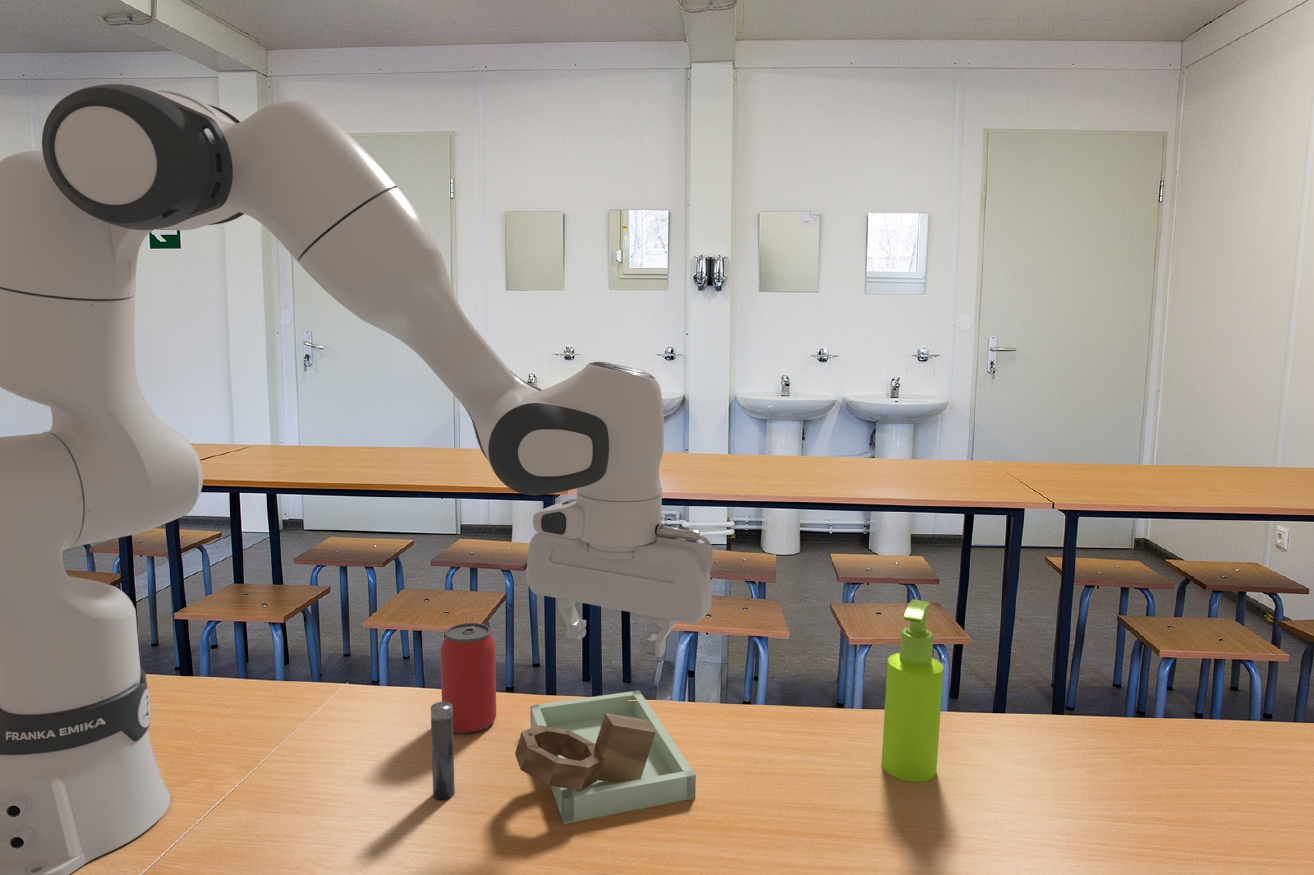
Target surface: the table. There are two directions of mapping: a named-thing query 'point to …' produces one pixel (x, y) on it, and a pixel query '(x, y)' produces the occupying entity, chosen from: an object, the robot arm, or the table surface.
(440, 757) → the dark grey metal cylinder
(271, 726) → the table surface
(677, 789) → the tray
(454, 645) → the beer can
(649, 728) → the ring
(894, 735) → the soap dispenser
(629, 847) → the table surface
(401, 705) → the table surface
